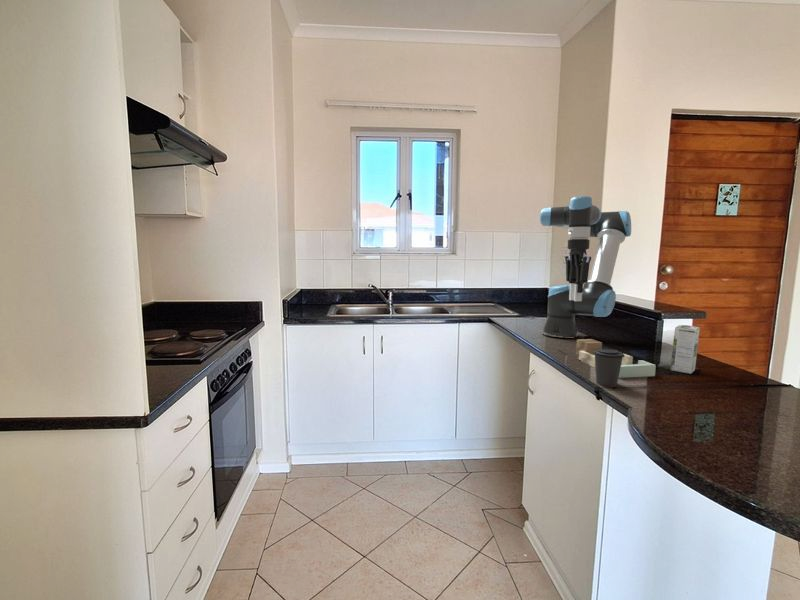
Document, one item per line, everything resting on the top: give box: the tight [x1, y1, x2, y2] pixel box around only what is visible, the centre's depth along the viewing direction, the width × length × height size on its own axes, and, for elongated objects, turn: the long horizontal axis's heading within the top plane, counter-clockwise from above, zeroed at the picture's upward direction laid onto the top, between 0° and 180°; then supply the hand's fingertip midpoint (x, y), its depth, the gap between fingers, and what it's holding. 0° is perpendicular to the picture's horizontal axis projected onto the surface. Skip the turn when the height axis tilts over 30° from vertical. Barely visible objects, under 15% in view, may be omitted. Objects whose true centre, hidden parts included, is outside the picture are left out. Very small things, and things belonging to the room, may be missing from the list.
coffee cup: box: [593, 348, 625, 388], centre depth 115 cm, size 8×8×10 cm
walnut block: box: [575, 338, 603, 355], centre depth 145 cm, size 6×6×6 cm
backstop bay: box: [618, 359, 657, 379], centre depth 124 cm, size 6×13×4 cm, turn 99°
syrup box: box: [670, 324, 701, 375], centre depth 127 cm, size 6×6×14 cm
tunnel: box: [578, 349, 634, 369], centre depth 136 cm, size 10×13×4 cm
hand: (575, 300), depth 152 cm, fingers open, 3 cm apart
